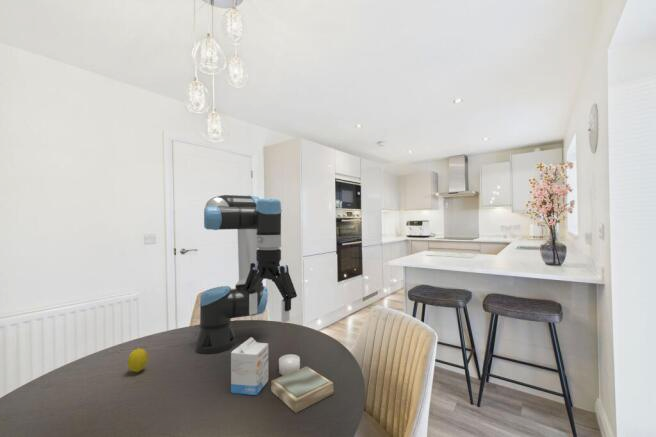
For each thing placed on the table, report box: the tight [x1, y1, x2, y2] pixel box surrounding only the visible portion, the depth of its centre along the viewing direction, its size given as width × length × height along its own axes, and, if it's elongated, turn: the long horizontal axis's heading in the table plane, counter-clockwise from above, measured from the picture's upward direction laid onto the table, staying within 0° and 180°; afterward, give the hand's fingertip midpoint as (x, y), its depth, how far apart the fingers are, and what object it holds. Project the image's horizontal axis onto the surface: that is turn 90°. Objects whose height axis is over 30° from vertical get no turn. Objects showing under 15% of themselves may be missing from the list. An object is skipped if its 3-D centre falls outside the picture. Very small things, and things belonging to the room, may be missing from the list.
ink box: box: [230, 336, 269, 396], centre depth 85 cm, size 9×8×13 cm
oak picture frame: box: [270, 366, 334, 414], centre depth 82 cm, size 13×13×3 cm
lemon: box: [127, 347, 148, 373], centre depth 94 cm, size 6×6×8 cm
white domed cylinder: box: [278, 353, 301, 376], centre depth 94 cm, size 7×7×4 cm
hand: (268, 317), depth 86 cm, fingers open, 13 cm apart
